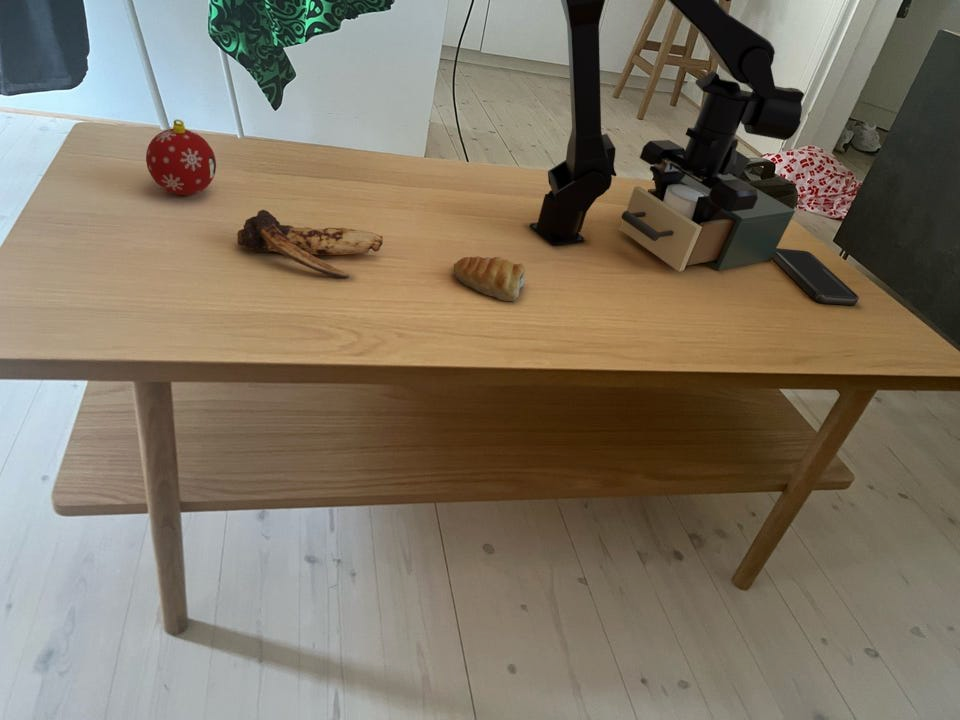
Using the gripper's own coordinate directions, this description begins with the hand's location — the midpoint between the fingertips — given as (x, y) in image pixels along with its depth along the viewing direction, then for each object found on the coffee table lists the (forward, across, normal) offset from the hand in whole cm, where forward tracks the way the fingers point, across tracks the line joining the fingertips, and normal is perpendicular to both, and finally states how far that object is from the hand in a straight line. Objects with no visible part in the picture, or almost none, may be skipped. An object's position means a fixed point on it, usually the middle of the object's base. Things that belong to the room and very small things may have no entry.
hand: (676, 225), depth 106 cm
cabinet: (+4, 0, -11) cm, 12 cm away
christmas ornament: (+5, +32, +65) cm, 72 cm away
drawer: (+4, 0, +1) cm, 4 cm away
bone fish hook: (+5, +11, +55) cm, 56 cm away
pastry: (+5, -1, +35) cm, 35 cm away
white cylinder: (+2, 0, 0) cm, 2 cm away
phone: (+4, -14, -20) cm, 25 cm away
